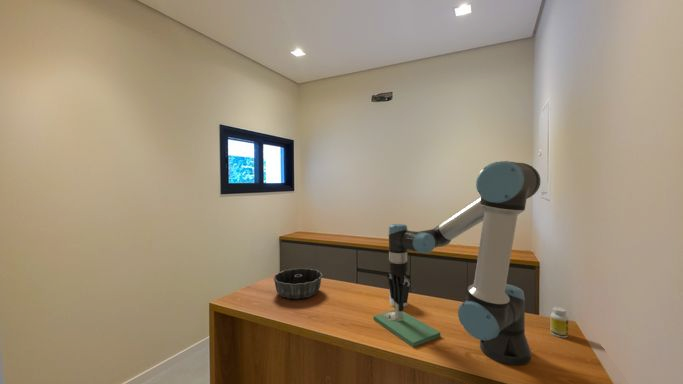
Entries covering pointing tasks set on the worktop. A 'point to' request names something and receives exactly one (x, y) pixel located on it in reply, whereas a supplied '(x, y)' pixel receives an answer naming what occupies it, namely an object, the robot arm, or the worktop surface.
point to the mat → (407, 328)
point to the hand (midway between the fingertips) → (399, 317)
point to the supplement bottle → (559, 322)
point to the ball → (393, 315)
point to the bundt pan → (298, 283)
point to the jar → (394, 302)
